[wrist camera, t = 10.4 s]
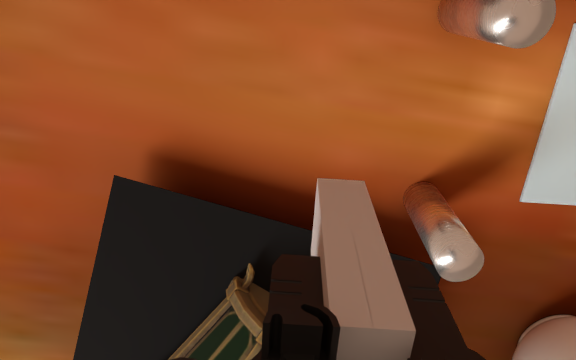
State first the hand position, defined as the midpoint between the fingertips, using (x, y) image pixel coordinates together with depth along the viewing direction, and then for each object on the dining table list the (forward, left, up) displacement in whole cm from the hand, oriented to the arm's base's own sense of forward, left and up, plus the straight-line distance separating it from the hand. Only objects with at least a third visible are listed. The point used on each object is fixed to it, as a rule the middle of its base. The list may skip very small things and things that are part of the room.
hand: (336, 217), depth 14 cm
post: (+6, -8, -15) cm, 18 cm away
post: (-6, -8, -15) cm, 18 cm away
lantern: (-22, +5, -16) cm, 27 cm away
